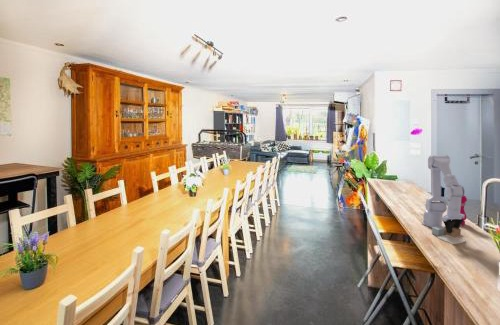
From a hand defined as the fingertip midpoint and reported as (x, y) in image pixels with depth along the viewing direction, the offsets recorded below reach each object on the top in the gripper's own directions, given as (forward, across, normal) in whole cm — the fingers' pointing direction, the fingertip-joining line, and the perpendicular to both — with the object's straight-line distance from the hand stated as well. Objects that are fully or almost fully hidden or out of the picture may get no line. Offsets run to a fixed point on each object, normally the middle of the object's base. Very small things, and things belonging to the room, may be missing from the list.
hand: (451, 232), depth 155 cm
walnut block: (+2, 0, 0) cm, 2 cm away
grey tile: (+4, 0, 0) cm, 4 cm away
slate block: (+5, +1, +8) cm, 9 cm away
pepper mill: (+5, +28, +16) cm, 33 cm away
